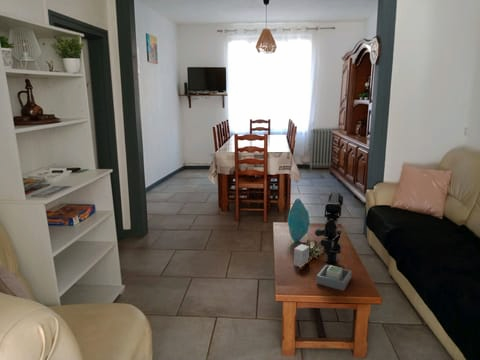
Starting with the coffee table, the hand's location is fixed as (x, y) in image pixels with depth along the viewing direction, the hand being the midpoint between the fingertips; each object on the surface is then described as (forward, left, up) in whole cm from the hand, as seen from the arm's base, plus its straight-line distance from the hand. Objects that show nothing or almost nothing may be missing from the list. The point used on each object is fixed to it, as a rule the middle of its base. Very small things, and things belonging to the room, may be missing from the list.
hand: (330, 252), depth 194 cm
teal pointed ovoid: (-29, -31, -12) cm, 44 cm away
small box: (-1, -17, -12) cm, 21 cm away
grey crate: (+8, +5, -12) cm, 15 cm away
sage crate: (+8, +5, -11) cm, 15 cm away
